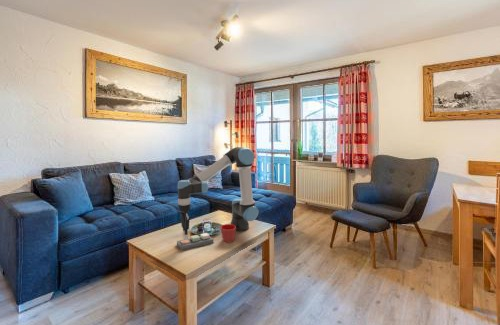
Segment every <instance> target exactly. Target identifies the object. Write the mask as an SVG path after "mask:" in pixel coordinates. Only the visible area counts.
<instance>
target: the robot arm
mask: <svg viewBox="0 0 500 325" xmlns="http://www.w3.org/2000/svg"><path fill="white" fill-rule="evenodd" d="M222 155H223V156H222V157H221V158H219V159H218V160H216V161H215V162H214V163H212V164H211V165H210V166H208V167H207V168H205V169H204V170H202V171H201V172H199V173H198V174H197V175H195V176H193V177H190V178H188V179H181V180H179V181H177V198H178V199H177V202H178V205H177V206H178V211H179V214H180V215H179V216H180V221H181V222H180V223H181V228H182V234H183V235H182V237H183V239H182V240H185V239H189V231H188V230H190V220H191V217H190V215H189V214H190V213H189V211H190V210H191V195H196V194H198V195H199V194H203V193H204V194H205V193H207V192H209V185H208V182H207V181H209V180H210V179H212V178H213V177H214V176H216V175H218V173H220V172H221V171H223V170H224V169H226V168H228V166H232V165H234V164H235V166H236V168H237V169H238V175H239V188H240V198H235V199H233V200H232V201H231V209H232V210H231V216H232V217H231V221H230V224H233V225H235V226H236V230H235V232H236V231H237V232H238V231H239V232H240V231H241V232H242V231H247V230H249V229H250V223H249V222H252V221H255V220H256V219H257V217H258V215H259V211H260V210H259V209H258V207H257V206H256V201H255V200H254V199H253V198H254V197H253V187H252V186H253V184H252V170H251V168H252V166H253V163H254V160H255V154H254V151H253V150H252V149H251V148H248V147H245V146H244V147H242V146H240V147H239V146H237V147H234V148H231V149H230V150H229V151H227V152H226V153H224V154H222Z"/></svg>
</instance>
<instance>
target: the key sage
mask: <svg viewBox="0 0 500 325" xmlns="http://www.w3.org/2000/svg"><path fill="white" fill-rule="evenodd" d="M199 236H200V235H198V234H195V235H191V236H190V238H191V240H192V241H193V242H195V241H199V240H200V237H199Z"/></svg>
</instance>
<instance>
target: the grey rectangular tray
mask: <svg viewBox="0 0 500 325" xmlns="http://www.w3.org/2000/svg"><path fill="white" fill-rule="evenodd" d="M198 236H199V237H200V235H198ZM183 240H184V239H180V240H176V246H177V247H178V248H179V250H181V251H185V250H189V249H193V248H198V247H201V246H206V245H211V244H214V238H212V237H211V236H210V238H208V239H204V240H203V239H202V238H201V237H200V240H199V241H195V242H193V241H192V240H191V237H188V239H185V240H188V241H189V242H190V243H189V244H185V245H182V244H181V243H180V241H183Z"/></svg>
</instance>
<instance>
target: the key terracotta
mask: <svg viewBox="0 0 500 325" xmlns="http://www.w3.org/2000/svg"><path fill="white" fill-rule="evenodd" d="M182 240H183V241H180V243H181V244H182V245H185V244H189V243H190V242H189V241H188V240H184V239H182Z"/></svg>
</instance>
